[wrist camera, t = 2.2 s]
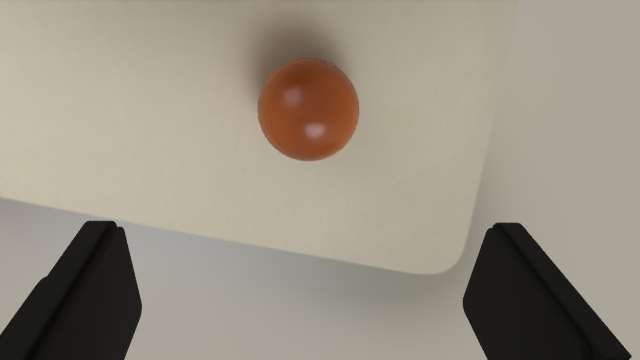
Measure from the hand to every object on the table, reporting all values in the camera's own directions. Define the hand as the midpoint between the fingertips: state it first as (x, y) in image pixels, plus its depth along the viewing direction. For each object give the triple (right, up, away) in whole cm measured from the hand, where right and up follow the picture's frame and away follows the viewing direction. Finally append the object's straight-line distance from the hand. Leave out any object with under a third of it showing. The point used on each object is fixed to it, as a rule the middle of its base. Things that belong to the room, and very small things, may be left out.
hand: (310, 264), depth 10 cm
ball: (0, +7, +11) cm, 13 cm away
